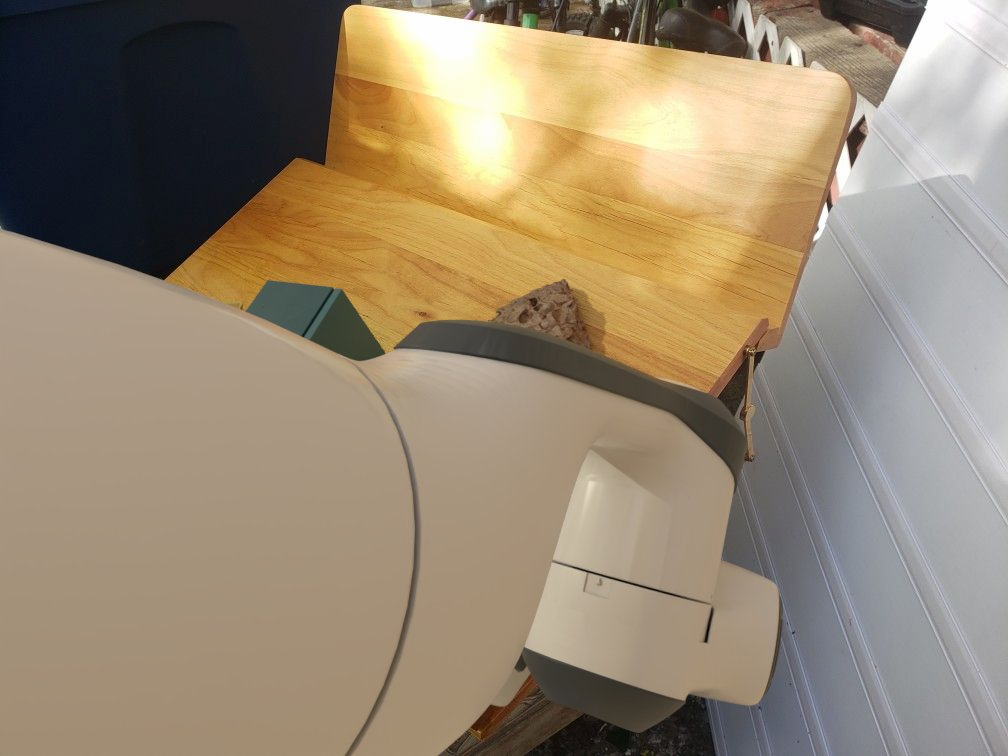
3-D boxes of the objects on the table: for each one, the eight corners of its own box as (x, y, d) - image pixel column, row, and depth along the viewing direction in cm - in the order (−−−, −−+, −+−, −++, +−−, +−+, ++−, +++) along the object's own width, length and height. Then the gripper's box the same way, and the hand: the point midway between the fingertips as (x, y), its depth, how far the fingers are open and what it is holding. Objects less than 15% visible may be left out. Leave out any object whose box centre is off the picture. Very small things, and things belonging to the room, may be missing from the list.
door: (427, 365, 84) (383, 293, 74) (374, 467, 78) (317, 402, 67) (383, 358, 87) (335, 287, 77) (329, 455, 80) (267, 392, 70)
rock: (567, 285, 86) (561, 263, 83) (604, 359, 78) (599, 337, 75) (462, 327, 87) (452, 307, 84) (487, 405, 78) (477, 385, 75)
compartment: (382, 358, 88) (332, 286, 77) (328, 456, 81) (265, 391, 70) (322, 349, 92) (267, 279, 81) (265, 440, 85) (197, 377, 75)
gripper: (572, 428, 51) (417, 399, 57) (465, 712, 41) (291, 641, 47) (587, 469, 55) (443, 438, 61) (495, 732, 46) (334, 665, 52)
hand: (376, 528), depth 54 cm, fingers closed on beverage can, 5 cm apart
